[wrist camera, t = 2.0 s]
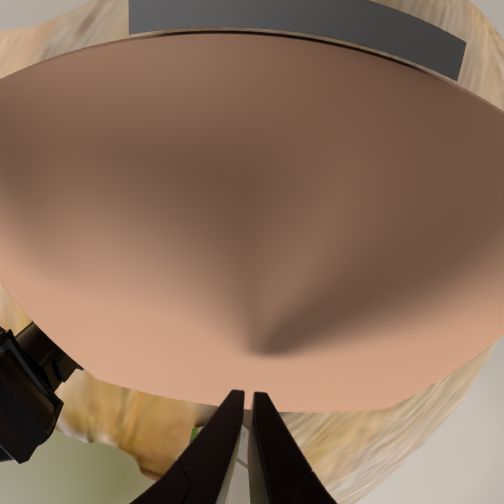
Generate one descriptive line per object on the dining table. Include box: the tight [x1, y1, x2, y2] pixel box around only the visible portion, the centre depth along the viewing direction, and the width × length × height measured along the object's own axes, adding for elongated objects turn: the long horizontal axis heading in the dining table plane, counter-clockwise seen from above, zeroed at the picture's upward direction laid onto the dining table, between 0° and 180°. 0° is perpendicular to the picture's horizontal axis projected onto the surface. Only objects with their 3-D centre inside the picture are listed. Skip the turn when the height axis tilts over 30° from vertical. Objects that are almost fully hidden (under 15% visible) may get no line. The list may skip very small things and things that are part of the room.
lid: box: [0, 0, 504, 413], centre depth 10 cm, size 20×19×2 cm
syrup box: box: [189, 424, 250, 504], centre depth 20 cm, size 6×6×14 cm
